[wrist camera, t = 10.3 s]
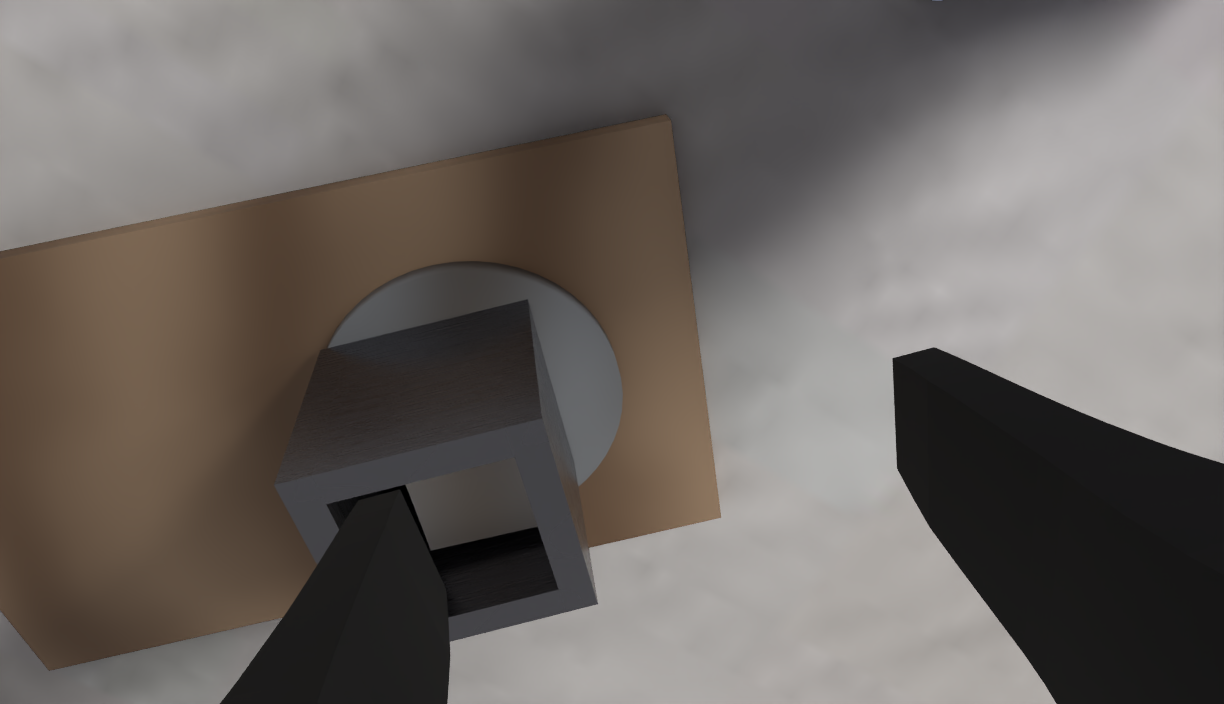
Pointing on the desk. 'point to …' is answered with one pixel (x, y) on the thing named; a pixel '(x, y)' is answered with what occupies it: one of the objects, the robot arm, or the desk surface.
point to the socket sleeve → (447, 456)
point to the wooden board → (285, 359)
